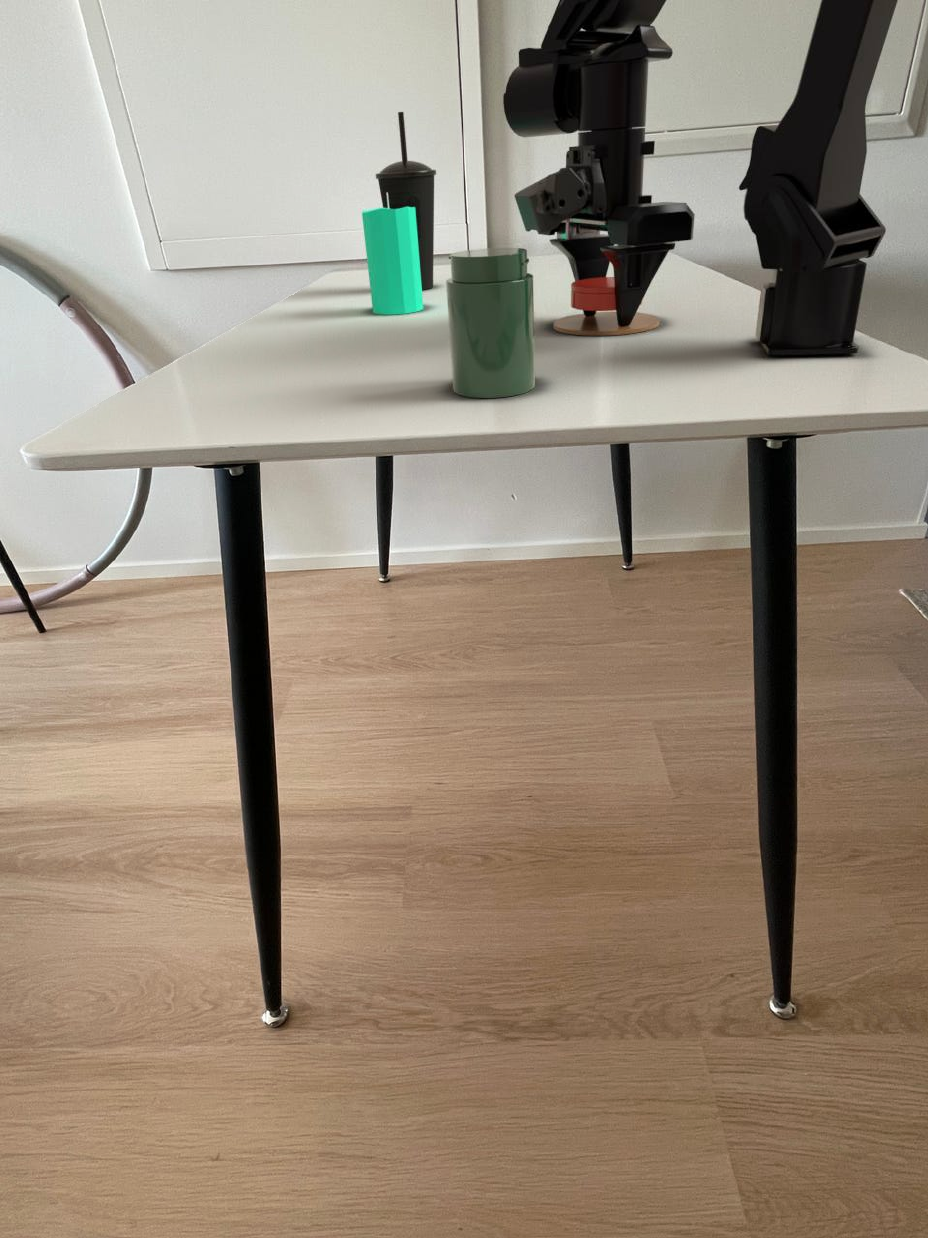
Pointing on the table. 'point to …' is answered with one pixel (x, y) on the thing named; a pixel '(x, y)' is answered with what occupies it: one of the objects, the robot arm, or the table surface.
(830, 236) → the robot arm
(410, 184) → the drinking cup
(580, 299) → the jam lid
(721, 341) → the table surface
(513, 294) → the jam jar
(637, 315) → the coaster
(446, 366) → the table surface
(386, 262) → the candle
